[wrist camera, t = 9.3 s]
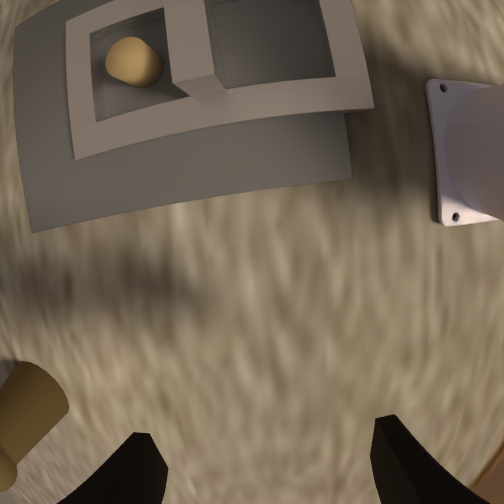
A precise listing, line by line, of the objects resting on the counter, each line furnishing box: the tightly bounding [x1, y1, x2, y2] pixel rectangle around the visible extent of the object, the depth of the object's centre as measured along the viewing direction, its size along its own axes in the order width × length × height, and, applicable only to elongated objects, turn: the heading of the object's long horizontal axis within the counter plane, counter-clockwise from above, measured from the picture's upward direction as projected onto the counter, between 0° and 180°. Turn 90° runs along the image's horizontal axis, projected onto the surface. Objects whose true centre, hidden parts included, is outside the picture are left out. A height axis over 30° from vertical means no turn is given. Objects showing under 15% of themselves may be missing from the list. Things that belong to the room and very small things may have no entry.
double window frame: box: [66, 0, 374, 160], centre depth 11 cm, size 14×8×4 cm, turn 98°
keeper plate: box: [13, 0, 353, 233], centre depth 13 cm, size 18×14×3 cm
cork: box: [0, 362, 69, 492], centre depth 16 cm, size 6×6×11 cm
